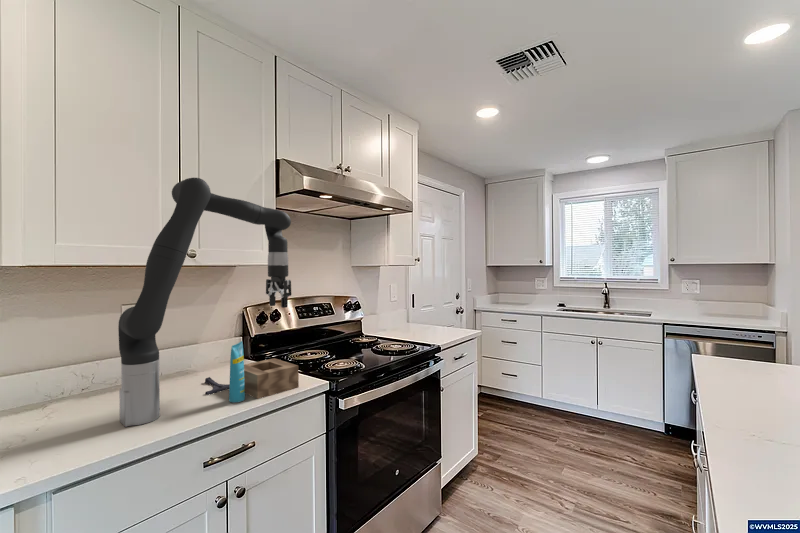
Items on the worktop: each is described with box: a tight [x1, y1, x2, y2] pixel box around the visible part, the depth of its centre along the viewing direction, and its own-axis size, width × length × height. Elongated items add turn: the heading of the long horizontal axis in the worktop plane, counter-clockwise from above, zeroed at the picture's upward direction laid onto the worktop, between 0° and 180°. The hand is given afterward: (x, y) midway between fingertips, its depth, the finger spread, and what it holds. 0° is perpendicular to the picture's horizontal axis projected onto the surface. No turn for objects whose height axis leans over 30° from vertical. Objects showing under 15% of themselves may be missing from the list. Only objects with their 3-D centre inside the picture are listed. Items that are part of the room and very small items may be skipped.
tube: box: [228, 340, 246, 403], centre depth 127 cm, size 7×5×19 cm, turn 3°
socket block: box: [244, 358, 300, 400], centre depth 139 cm, size 16×17×8 cm
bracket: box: [204, 376, 230, 396], centre depth 142 cm, size 14×15×3 cm
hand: (278, 306), depth 145 cm, fingers open, 8 cm apart
